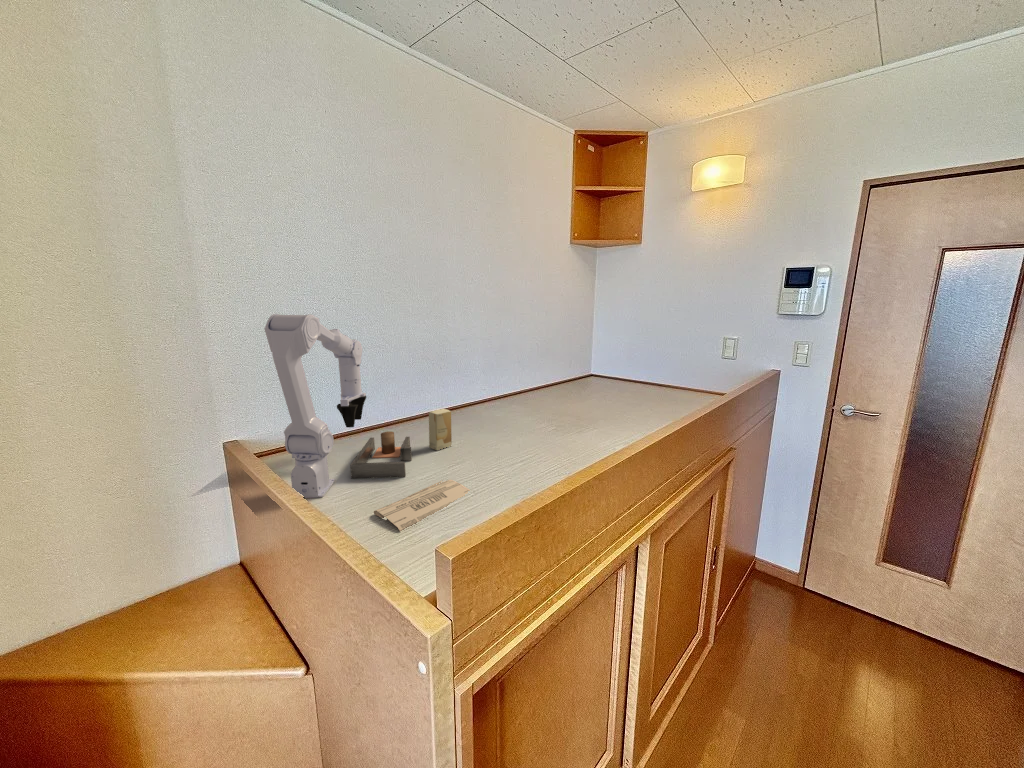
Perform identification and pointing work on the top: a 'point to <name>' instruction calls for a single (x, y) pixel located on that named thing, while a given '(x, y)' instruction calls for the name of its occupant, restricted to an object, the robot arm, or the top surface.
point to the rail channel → (379, 463)
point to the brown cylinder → (387, 442)
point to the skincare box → (440, 429)
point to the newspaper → (422, 503)
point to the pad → (380, 455)
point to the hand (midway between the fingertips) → (353, 423)
